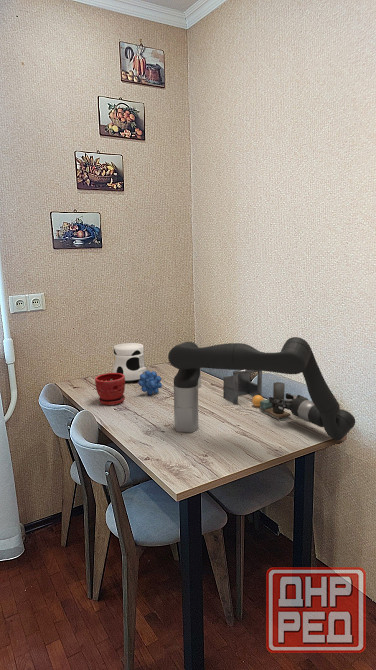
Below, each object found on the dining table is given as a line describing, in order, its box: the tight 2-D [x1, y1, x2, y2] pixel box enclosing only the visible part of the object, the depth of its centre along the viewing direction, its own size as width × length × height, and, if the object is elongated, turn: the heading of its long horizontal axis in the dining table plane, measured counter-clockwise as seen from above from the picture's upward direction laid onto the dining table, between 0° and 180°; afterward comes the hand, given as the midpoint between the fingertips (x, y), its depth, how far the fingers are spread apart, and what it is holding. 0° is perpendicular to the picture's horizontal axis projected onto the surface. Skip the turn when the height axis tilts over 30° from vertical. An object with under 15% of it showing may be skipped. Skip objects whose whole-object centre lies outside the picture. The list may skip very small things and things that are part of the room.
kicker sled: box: [259, 381, 292, 418], centre depth 184 cm, size 12×6×13 cm, turn 29°
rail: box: [259, 408, 292, 422], centre depth 186 cm, size 14×5×1 cm, turn 29°
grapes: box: [137, 369, 163, 396], centre depth 211 cm, size 12×7×12 cm, turn 116°
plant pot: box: [94, 372, 126, 406], centre depth 202 cm, size 13×13×12 cm
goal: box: [222, 370, 263, 405], centre depth 204 cm, size 10×15×15 cm, turn 119°
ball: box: [251, 395, 265, 408], centre depth 195 cm, size 5×5×5 cm
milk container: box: [112, 342, 147, 383], centre depth 236 cm, size 17×17×18 cm
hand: (277, 397), depth 183 cm, fingers open, 8 cm apart
